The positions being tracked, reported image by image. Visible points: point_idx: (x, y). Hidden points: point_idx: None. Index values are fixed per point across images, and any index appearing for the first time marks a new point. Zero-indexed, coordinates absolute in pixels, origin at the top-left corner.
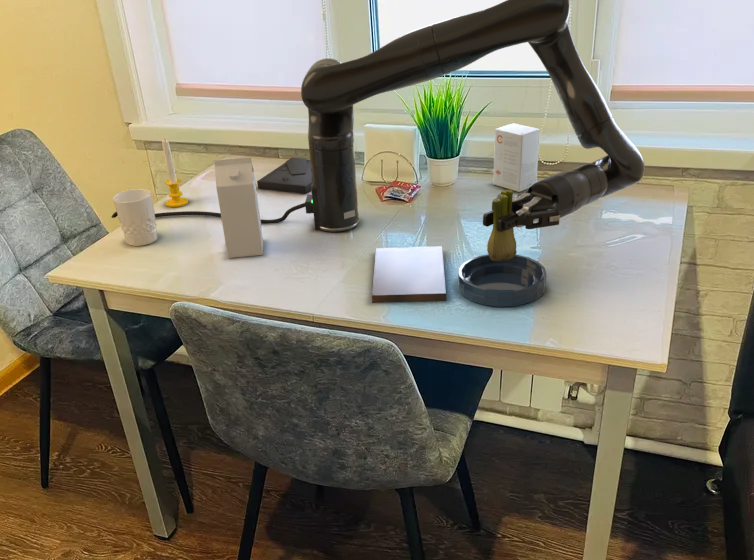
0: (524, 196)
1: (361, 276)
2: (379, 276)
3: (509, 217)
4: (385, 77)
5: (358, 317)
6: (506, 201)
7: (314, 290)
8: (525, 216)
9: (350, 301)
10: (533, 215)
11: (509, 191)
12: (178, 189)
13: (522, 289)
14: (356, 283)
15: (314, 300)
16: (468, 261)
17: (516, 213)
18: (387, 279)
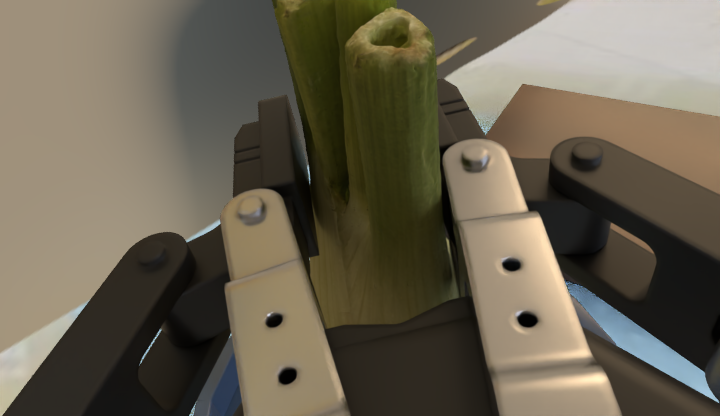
0: (503, 378)
1: (716, 115)
2: (644, 115)
3: (260, 147)
4: None
5: (464, 75)
6: (284, 40)
7: (652, 37)
8: (203, 253)
9: (554, 76)
10: (115, 269)
11: (363, 28)
12: None
13: (206, 381)
14: (665, 99)
15: (593, 34)
16: (591, 330)
17: (258, 189)
18: (612, 125)
